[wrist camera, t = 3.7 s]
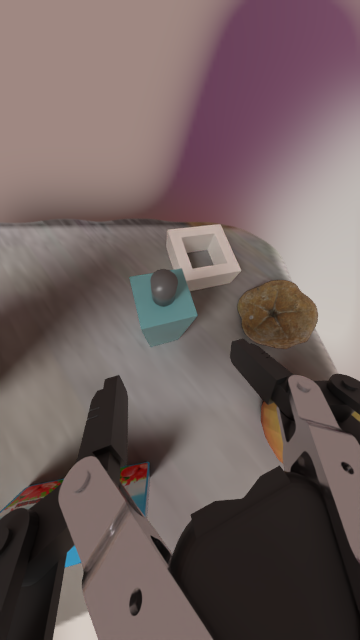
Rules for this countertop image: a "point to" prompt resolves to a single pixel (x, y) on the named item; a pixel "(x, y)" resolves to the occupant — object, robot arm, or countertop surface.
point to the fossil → (277, 314)
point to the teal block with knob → (163, 305)
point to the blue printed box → (130, 477)
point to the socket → (202, 240)
